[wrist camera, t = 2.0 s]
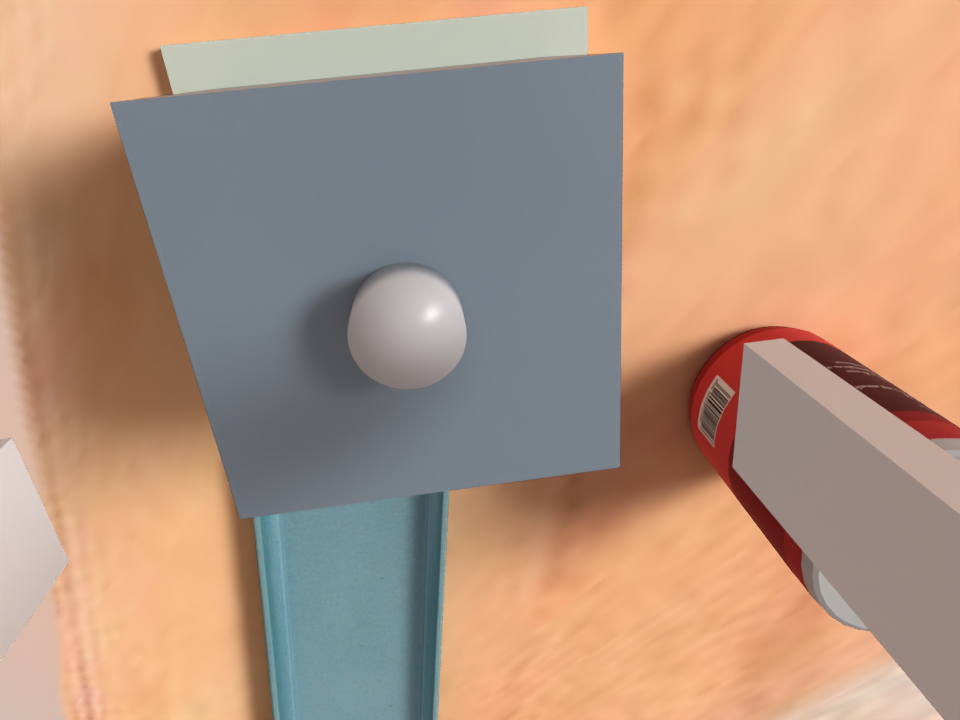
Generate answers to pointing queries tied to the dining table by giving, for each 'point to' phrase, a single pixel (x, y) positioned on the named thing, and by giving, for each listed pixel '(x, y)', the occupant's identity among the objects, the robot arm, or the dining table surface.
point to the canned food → (717, 429)
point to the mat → (375, 49)
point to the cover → (395, 273)
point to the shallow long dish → (354, 608)
